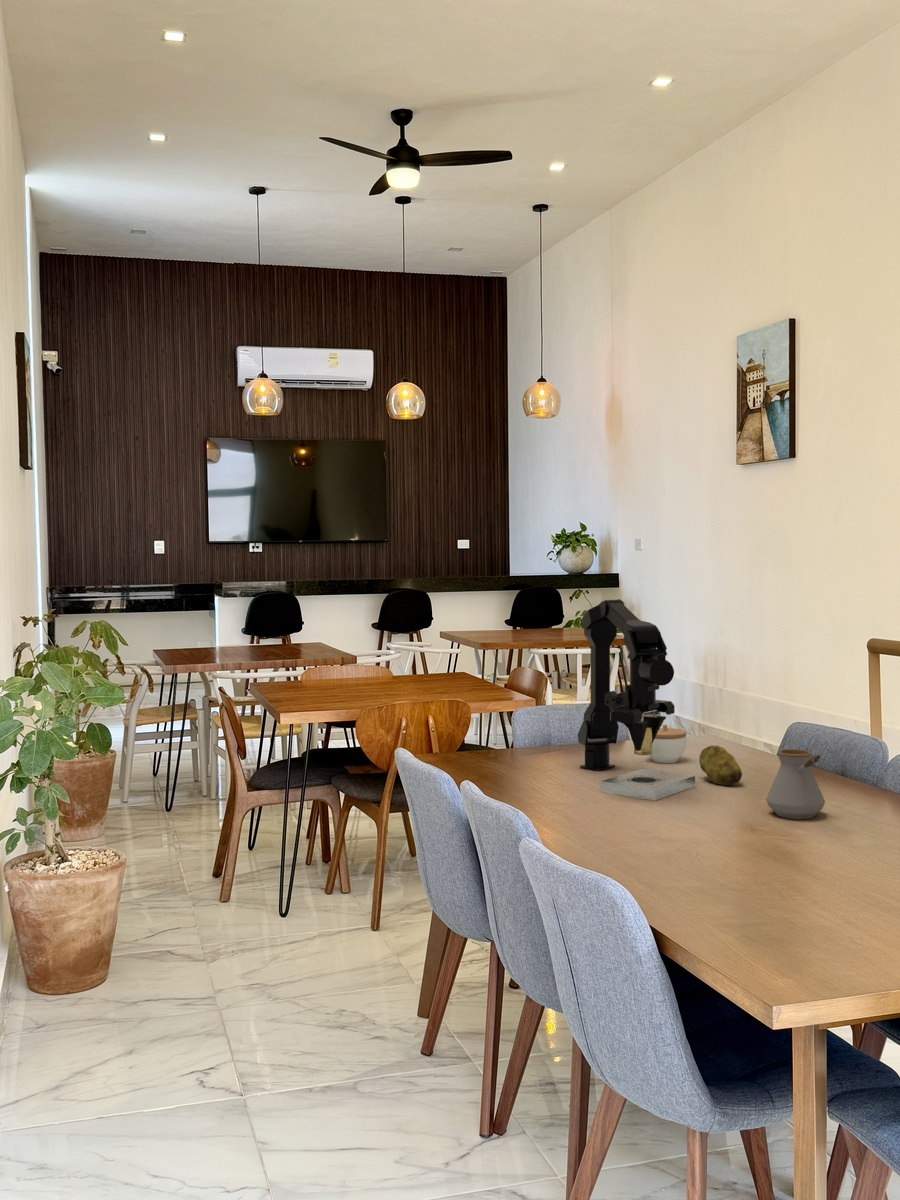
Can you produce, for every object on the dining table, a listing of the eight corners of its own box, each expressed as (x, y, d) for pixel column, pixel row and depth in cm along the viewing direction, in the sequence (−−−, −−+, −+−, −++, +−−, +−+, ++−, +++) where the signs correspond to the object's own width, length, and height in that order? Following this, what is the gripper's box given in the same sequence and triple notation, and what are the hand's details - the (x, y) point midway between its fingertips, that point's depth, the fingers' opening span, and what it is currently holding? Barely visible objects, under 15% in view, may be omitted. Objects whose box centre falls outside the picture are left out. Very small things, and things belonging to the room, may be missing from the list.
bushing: (640, 751, 248) (640, 725, 248) (655, 753, 246) (655, 726, 246) (630, 753, 245) (630, 727, 245) (646, 755, 243) (646, 729, 243)
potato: (707, 788, 248) (707, 753, 248) (696, 776, 261) (696, 743, 261) (744, 787, 248) (744, 753, 247) (731, 776, 261) (731, 743, 260)
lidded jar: (690, 764, 275) (690, 728, 275) (648, 765, 275) (647, 728, 275) (681, 756, 286) (681, 721, 286) (641, 757, 286) (641, 722, 286)
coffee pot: (759, 808, 228) (759, 737, 227) (814, 807, 228) (814, 736, 227) (789, 834, 207) (789, 756, 206) (849, 833, 206) (849, 755, 206)
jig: (642, 778, 259) (642, 768, 259) (695, 786, 250) (695, 775, 250) (600, 792, 245) (600, 781, 245) (654, 800, 236) (654, 789, 236)
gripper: (633, 674, 257) (634, 739, 258) (589, 682, 243) (590, 751, 244) (675, 677, 250) (675, 744, 251) (632, 685, 236) (633, 756, 237)
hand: (643, 749), depth 246 cm, fingers closed on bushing, 4 cm apart
